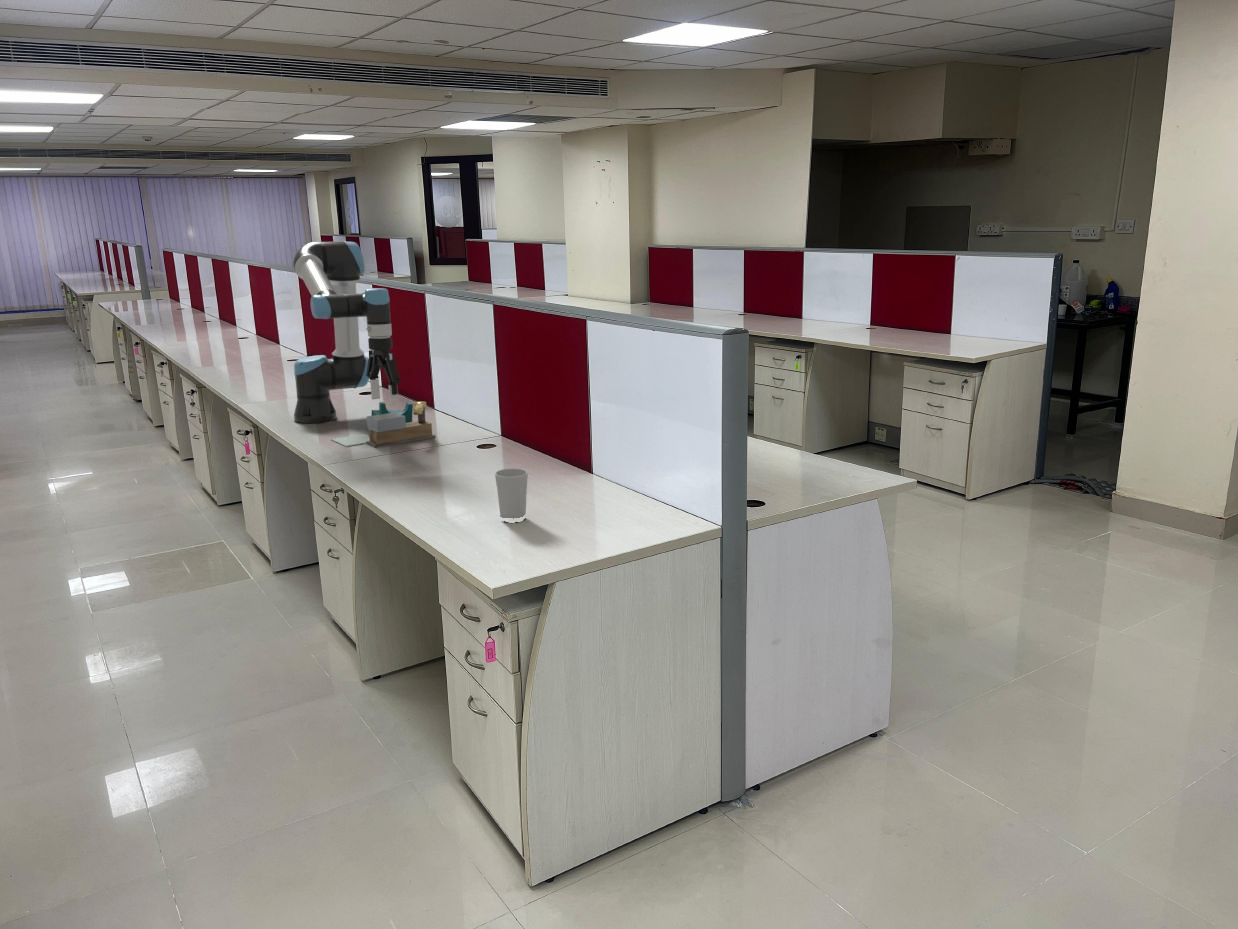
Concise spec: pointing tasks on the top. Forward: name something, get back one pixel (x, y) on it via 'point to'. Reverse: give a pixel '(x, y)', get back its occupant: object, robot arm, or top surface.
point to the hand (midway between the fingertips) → (384, 401)
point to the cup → (512, 492)
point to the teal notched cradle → (395, 411)
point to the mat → (352, 440)
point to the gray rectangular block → (386, 422)
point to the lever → (419, 408)
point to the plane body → (402, 433)
